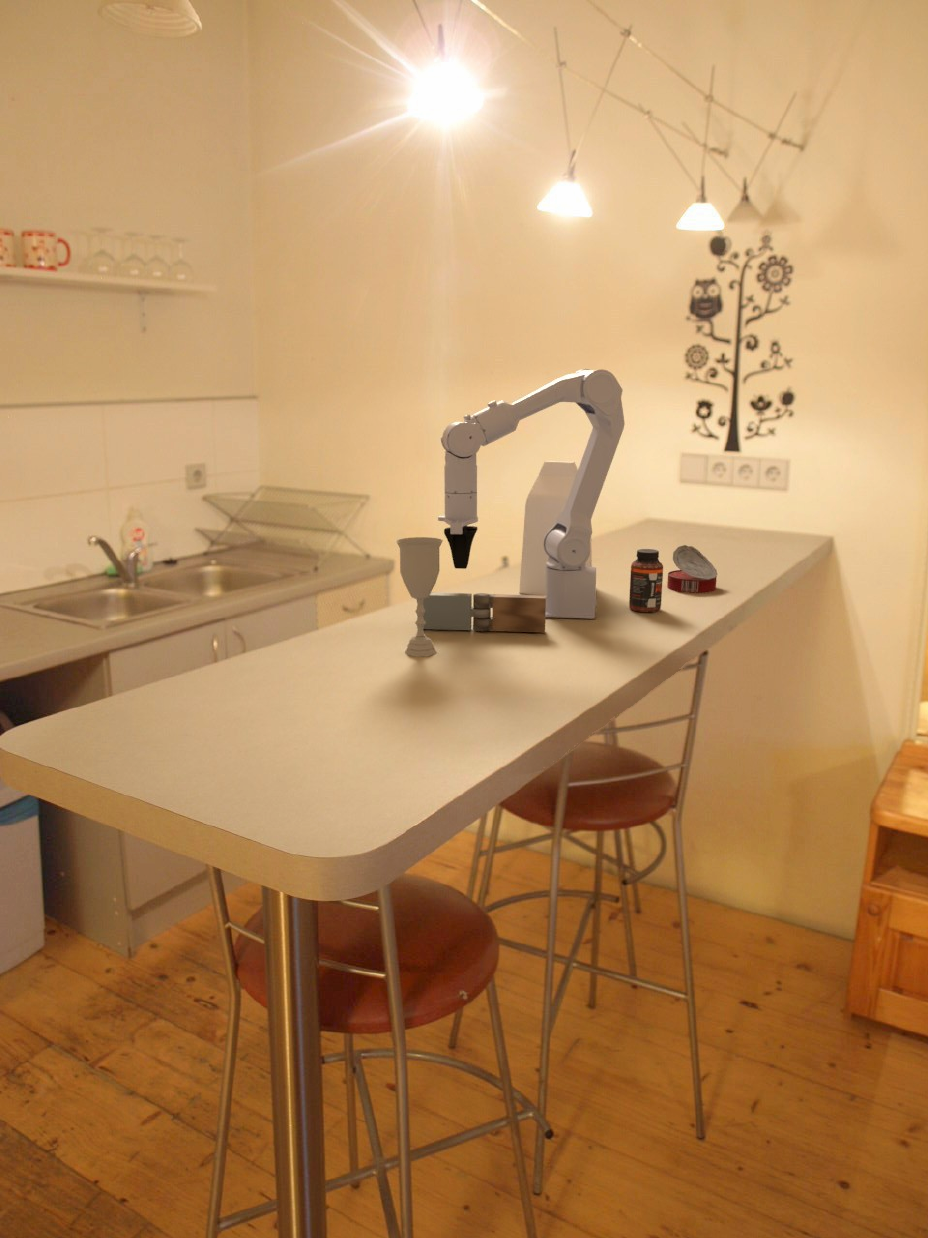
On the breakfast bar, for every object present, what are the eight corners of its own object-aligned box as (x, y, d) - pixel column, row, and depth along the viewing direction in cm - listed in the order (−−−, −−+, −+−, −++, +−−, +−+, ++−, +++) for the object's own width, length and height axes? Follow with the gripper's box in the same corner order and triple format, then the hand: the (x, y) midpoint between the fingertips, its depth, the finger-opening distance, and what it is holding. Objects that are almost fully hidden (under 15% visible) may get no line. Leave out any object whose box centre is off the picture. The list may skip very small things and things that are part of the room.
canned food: (700, 605, 211) (725, 564, 209) (707, 612, 201) (733, 568, 200) (653, 579, 211) (677, 538, 210) (658, 584, 201) (683, 541, 200)
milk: (519, 593, 201) (521, 463, 195) (537, 581, 211) (539, 458, 205) (576, 598, 197) (581, 465, 190) (592, 586, 207) (596, 460, 201)
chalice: (408, 660, 155) (407, 546, 151) (391, 649, 161) (389, 539, 157) (450, 654, 159) (450, 542, 154) (432, 643, 164) (431, 535, 160)
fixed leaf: (545, 628, 173) (546, 595, 171) (544, 633, 170) (545, 598, 168) (474, 626, 174) (474, 592, 173) (472, 630, 171) (472, 596, 170)
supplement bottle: (660, 614, 184) (664, 553, 181) (628, 612, 185) (630, 552, 183) (661, 606, 190) (664, 548, 187) (629, 605, 191) (632, 546, 188)
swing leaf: (491, 626, 174) (491, 593, 172) (489, 631, 171) (490, 597, 169) (420, 625, 175) (420, 591, 173) (418, 629, 172) (417, 595, 171)
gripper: (443, 486, 182) (443, 559, 186) (432, 496, 168) (433, 575, 172) (481, 487, 182) (481, 560, 185) (474, 497, 168) (473, 576, 171)
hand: (460, 567), depth 178 cm, fingers closed
